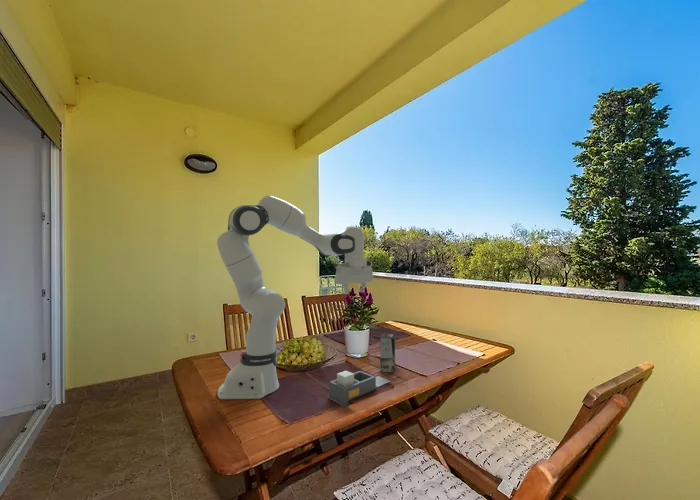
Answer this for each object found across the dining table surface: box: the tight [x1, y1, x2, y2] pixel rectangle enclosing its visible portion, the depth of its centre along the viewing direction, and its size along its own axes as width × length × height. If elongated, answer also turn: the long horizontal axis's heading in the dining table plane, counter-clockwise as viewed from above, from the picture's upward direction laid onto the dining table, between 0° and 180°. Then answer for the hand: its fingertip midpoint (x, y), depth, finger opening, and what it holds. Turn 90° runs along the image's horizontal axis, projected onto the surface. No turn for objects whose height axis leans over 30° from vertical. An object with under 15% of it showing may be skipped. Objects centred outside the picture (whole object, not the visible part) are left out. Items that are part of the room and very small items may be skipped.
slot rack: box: [327, 370, 391, 408], centre depth 114 cm, size 26×9×6 cm, turn 133°
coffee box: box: [379, 332, 396, 373], centre depth 135 cm, size 9×6×16 cm
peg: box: [336, 370, 354, 387], centre depth 108 cm, size 4×4×8 cm
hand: (354, 293), depth 134 cm, fingers open, 8 cm apart
